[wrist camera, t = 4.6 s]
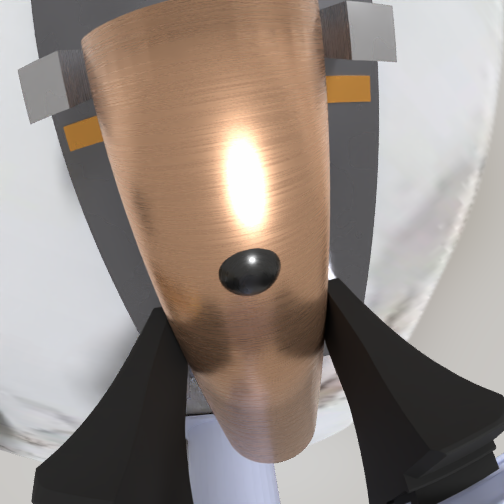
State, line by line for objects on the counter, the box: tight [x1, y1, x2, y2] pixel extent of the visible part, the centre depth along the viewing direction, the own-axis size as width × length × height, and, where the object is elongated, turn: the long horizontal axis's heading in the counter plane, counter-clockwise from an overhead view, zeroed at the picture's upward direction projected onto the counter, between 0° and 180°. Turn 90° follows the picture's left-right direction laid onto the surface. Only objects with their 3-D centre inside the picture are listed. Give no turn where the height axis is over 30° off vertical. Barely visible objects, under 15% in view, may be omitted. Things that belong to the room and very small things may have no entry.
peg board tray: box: [18, 0, 397, 399], centre depth 11 cm, size 22×12×5 cm, turn 7°
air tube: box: [81, 0, 330, 464], centre depth 10 cm, size 18×5×5 cm, turn 7°
